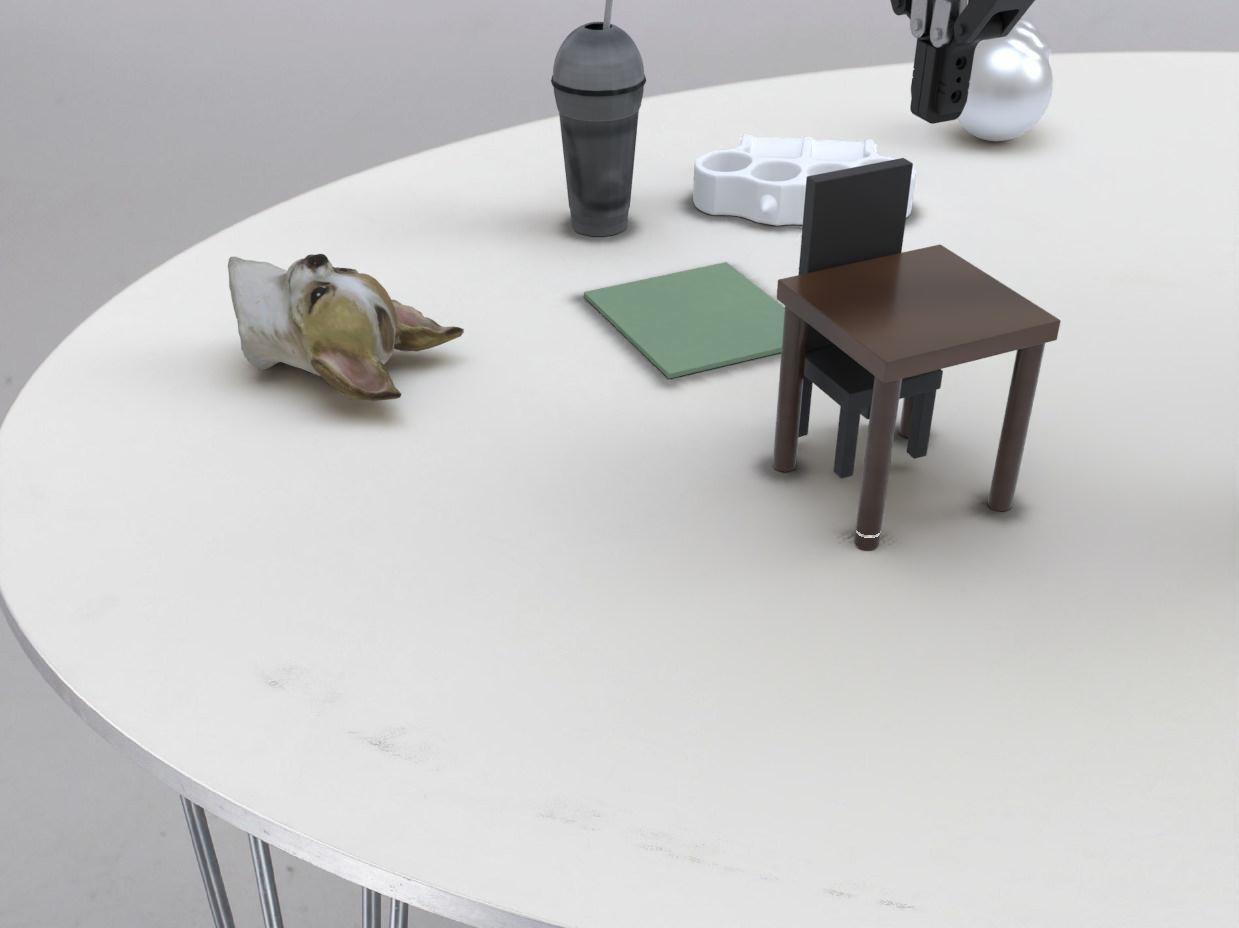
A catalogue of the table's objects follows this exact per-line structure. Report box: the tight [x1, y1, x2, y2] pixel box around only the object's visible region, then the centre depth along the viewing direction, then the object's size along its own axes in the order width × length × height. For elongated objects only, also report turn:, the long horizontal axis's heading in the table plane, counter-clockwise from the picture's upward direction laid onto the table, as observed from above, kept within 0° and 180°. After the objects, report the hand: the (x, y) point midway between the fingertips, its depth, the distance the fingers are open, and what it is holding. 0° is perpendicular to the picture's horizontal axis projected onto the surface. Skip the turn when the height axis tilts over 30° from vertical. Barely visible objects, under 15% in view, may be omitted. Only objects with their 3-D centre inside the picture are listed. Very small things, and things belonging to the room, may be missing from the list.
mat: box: [583, 261, 785, 380], centre depth 104 cm, size 14×12×1 cm
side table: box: [772, 243, 1061, 551], centre depth 83 cm, size 11×11×12 cm
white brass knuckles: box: [692, 133, 917, 227], centre depth 120 cm, size 3×18×15 cm
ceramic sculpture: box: [227, 253, 465, 402], centre depth 96 cm, size 11×9×15 cm
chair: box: [798, 157, 944, 479], centre depth 83 cm, size 6×6×16 cm
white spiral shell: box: [956, 18, 1054, 142], centre depth 128 cm, size 9×10×10 cm
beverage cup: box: [550, 0, 647, 237], centre depth 111 cm, size 7×7×20 cm
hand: (935, 116), depth 73 cm, fingers closed
